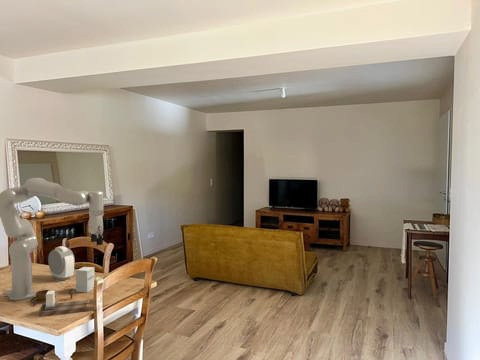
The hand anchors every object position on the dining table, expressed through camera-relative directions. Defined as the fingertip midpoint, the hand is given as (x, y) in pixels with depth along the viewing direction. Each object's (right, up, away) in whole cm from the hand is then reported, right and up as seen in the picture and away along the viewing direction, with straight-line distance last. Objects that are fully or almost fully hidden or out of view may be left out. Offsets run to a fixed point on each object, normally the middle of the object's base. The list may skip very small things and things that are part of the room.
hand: (96, 243), depth 197 cm
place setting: (-21, -30, -11) cm, 38 cm away
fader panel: (-4, -29, -22) cm, 37 cm away
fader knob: (-13, -27, -25) cm, 39 cm away
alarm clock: (-33, -27, +27) cm, 51 cm away
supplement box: (-9, -28, +5) cm, 30 cm away
